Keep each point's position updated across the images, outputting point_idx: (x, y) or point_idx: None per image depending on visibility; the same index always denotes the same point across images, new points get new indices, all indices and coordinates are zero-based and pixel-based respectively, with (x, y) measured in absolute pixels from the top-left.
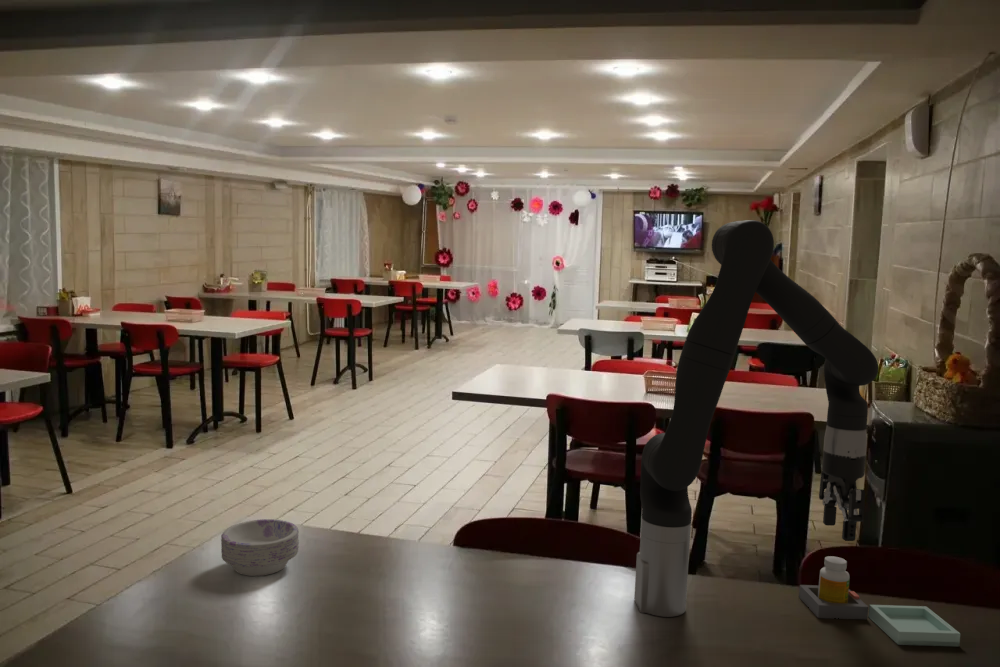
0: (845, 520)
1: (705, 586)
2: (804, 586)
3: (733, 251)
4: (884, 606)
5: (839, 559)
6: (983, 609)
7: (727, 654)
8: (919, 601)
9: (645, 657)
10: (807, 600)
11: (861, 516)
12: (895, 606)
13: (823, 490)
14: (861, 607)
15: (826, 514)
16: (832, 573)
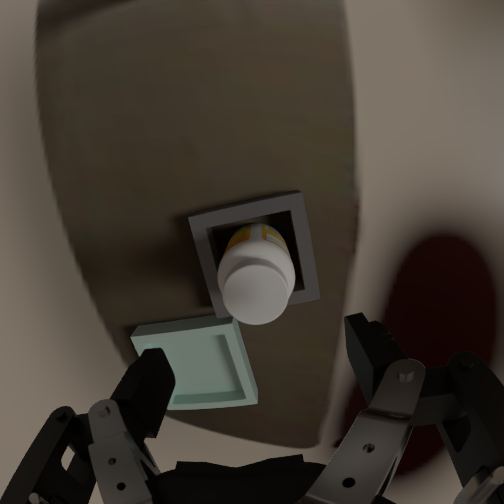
0: (102, 403)
1: (292, 12)
2: (294, 202)
3: None
4: (232, 346)
5: (263, 308)
6: (310, 445)
7: (42, 74)
8: (325, 395)
9: (38, 6)
10: (250, 201)
11: (73, 456)
12: (239, 363)
13: (470, 412)
14: (213, 305)
15: (359, 348)
16: (227, 271)
